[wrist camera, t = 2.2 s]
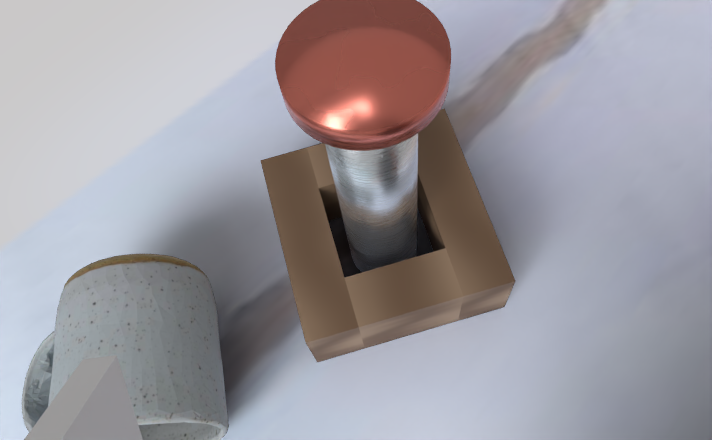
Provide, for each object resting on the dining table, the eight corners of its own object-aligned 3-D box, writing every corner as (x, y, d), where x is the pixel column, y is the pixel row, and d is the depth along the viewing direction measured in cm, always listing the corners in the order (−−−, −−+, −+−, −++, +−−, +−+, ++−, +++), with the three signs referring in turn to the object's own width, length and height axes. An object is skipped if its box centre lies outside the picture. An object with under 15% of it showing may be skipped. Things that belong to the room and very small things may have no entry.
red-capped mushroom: (347, 310, 34) (297, 151, 19) (321, 218, 36) (259, 14, 22) (449, 280, 34) (476, 100, 19) (417, 190, 36) (419, -30, 22)
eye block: (317, 362, 33) (305, 342, 29) (275, 195, 37) (260, 160, 33) (504, 307, 33) (515, 281, 30) (441, 148, 38) (444, 108, 34)
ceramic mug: (229, 284, 35) (180, 227, 28) (248, 439, 32) (197, 417, 25) (39, 327, 35) (-57, 281, 28) (37, 487, 32) (-73, 478, 25)
